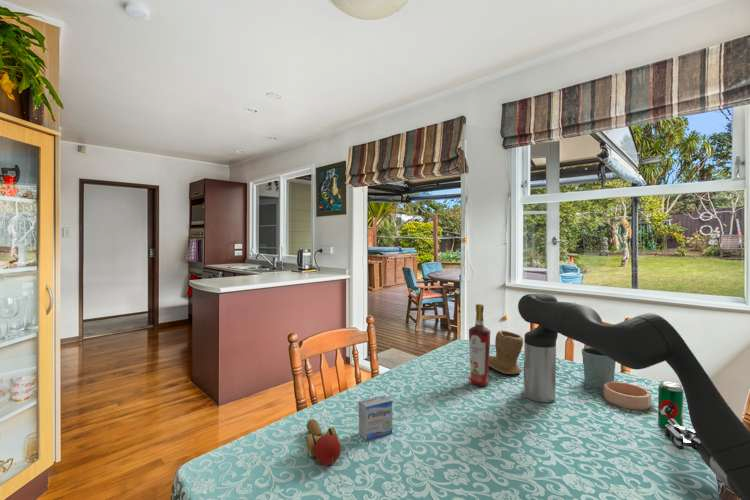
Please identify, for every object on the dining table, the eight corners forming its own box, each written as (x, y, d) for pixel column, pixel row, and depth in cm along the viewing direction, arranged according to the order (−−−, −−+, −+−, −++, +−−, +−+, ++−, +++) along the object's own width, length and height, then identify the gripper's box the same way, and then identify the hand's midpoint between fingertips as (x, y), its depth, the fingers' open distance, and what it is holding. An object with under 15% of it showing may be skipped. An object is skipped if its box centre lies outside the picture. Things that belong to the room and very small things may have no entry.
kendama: (294, 439, 90) (311, 471, 74) (298, 414, 92) (315, 439, 75) (323, 438, 93) (345, 468, 77) (326, 413, 95) (349, 437, 78)
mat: (606, 406, 105) (606, 405, 105) (597, 392, 116) (597, 391, 116) (659, 414, 101) (659, 412, 101) (645, 398, 111) (645, 397, 111)
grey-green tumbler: (621, 387, 120) (621, 352, 120) (608, 394, 114) (608, 357, 114) (589, 377, 128) (589, 345, 128) (575, 383, 123) (576, 350, 122)
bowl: (609, 406, 105) (610, 393, 105) (600, 390, 116) (600, 379, 116) (656, 412, 101) (657, 399, 101) (642, 396, 112) (642, 384, 112)
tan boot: (530, 374, 131) (530, 335, 131) (503, 378, 128) (503, 337, 128) (504, 361, 146) (504, 326, 146) (479, 364, 142) (479, 328, 142)
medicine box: (365, 441, 87) (365, 407, 87) (358, 433, 91) (358, 400, 91) (393, 433, 91) (392, 400, 90) (384, 425, 95) (384, 394, 94)
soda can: (687, 434, 90) (688, 388, 90) (665, 432, 91) (665, 387, 91) (674, 424, 95) (675, 381, 95) (653, 422, 96) (654, 379, 96)
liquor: (464, 384, 122) (465, 304, 122) (474, 378, 128) (474, 302, 128) (485, 389, 118) (485, 307, 117) (493, 383, 123) (493, 304, 123)
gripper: (787, 455, 64) (733, 414, 79) (689, 440, 69) (656, 404, 84) (786, 495, 64) (732, 447, 79) (689, 477, 69) (656, 435, 84)
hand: (693, 425), depth 81 cm, fingers open, 8 cm apart
